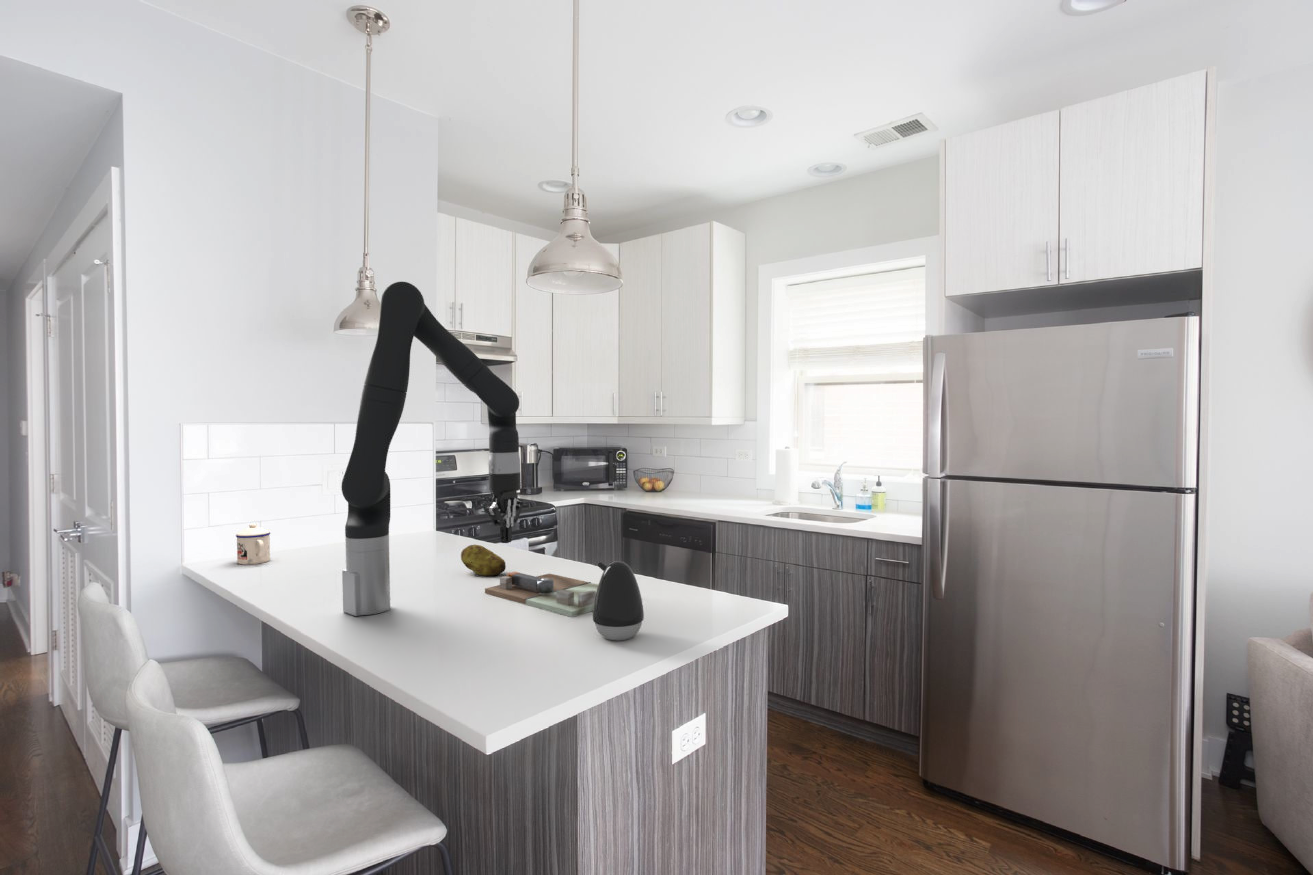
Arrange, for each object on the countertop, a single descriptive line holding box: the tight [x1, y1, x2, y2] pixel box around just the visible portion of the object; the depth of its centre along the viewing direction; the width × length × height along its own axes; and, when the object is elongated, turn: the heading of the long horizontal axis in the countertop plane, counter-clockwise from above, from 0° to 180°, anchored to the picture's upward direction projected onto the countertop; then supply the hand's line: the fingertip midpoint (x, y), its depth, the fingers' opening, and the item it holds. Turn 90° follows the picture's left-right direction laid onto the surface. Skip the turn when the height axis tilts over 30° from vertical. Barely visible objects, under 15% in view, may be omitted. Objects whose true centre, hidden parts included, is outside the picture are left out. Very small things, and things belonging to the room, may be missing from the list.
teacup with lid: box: [235, 523, 271, 566], centre depth 210 cm, size 12×9×12 cm
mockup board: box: [484, 572, 599, 618], centre depth 170 cm, size 21×32×4 cm, turn 49°
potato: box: [460, 544, 507, 577], centre depth 193 cm, size 8×13×8 cm, turn 52°
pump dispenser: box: [592, 560, 645, 642], centre depth 138 cm, size 10×10×15 cm
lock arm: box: [506, 571, 554, 593], centre depth 170 cm, size 4×15×3 cm, turn 49°
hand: (506, 542), depth 167 cm, fingers closed
